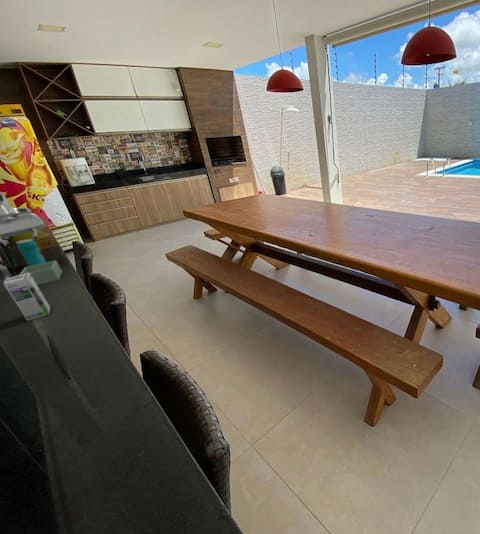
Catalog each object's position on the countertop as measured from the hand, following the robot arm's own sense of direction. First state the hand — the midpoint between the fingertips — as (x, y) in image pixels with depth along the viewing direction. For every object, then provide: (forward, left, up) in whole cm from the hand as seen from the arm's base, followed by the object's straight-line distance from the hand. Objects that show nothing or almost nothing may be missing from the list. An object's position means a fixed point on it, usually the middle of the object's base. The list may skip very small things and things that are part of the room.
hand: (22, 241), depth 137 cm
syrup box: (+9, -56, -14) cm, 58 cm away
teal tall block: (+2, -6, -14) cm, 15 cm away
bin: (+5, -19, -14) cm, 24 cm away
